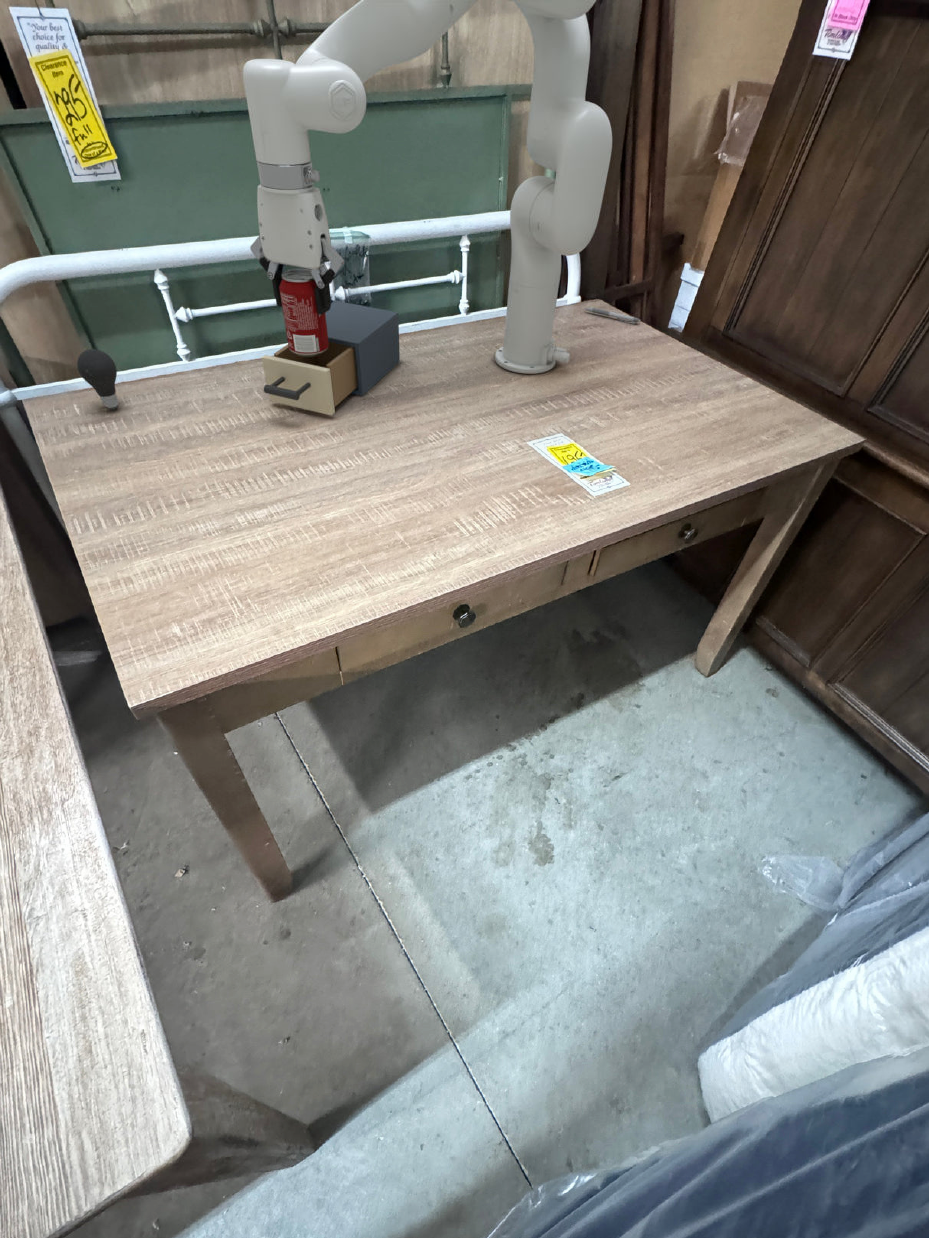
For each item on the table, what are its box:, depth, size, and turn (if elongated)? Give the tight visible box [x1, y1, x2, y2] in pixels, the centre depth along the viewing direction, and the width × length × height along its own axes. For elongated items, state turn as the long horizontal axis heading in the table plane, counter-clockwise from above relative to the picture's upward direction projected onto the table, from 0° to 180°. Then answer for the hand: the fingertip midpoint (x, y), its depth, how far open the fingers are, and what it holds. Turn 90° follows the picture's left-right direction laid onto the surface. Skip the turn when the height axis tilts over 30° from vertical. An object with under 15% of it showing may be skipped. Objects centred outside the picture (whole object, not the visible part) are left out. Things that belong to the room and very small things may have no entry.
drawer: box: [261, 342, 358, 416], centre depth 108 cm, size 21×12×8 cm, turn 160°
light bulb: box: [76, 348, 120, 410], centre depth 103 cm, size 6×6×10 cm
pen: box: [584, 306, 641, 325], centre depth 147 cm, size 1×14×1 cm, turn 62°
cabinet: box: [325, 300, 401, 397], centre depth 117 cm, size 17×14×10 cm
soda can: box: [279, 268, 329, 357], centre depth 101 cm, size 7×7×12 cm
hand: (303, 306), depth 100 cm, fingers closed on soda can, 6 cm apart
